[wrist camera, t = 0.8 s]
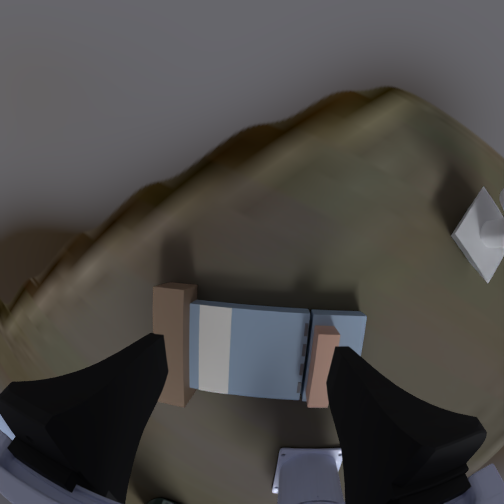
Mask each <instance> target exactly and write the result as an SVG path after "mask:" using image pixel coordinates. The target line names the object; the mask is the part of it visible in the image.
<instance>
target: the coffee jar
mask: <svg viewBox="0 0 504 504" xmlns="http://www.w3.org/2000/svg"><path fill="white" fill-rule="evenodd" d="M146 504H177V503H175V502H172V501H169V500H166V499H163V498H156V499H153V500H151V501H149V502H148V503H146Z"/></svg>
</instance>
